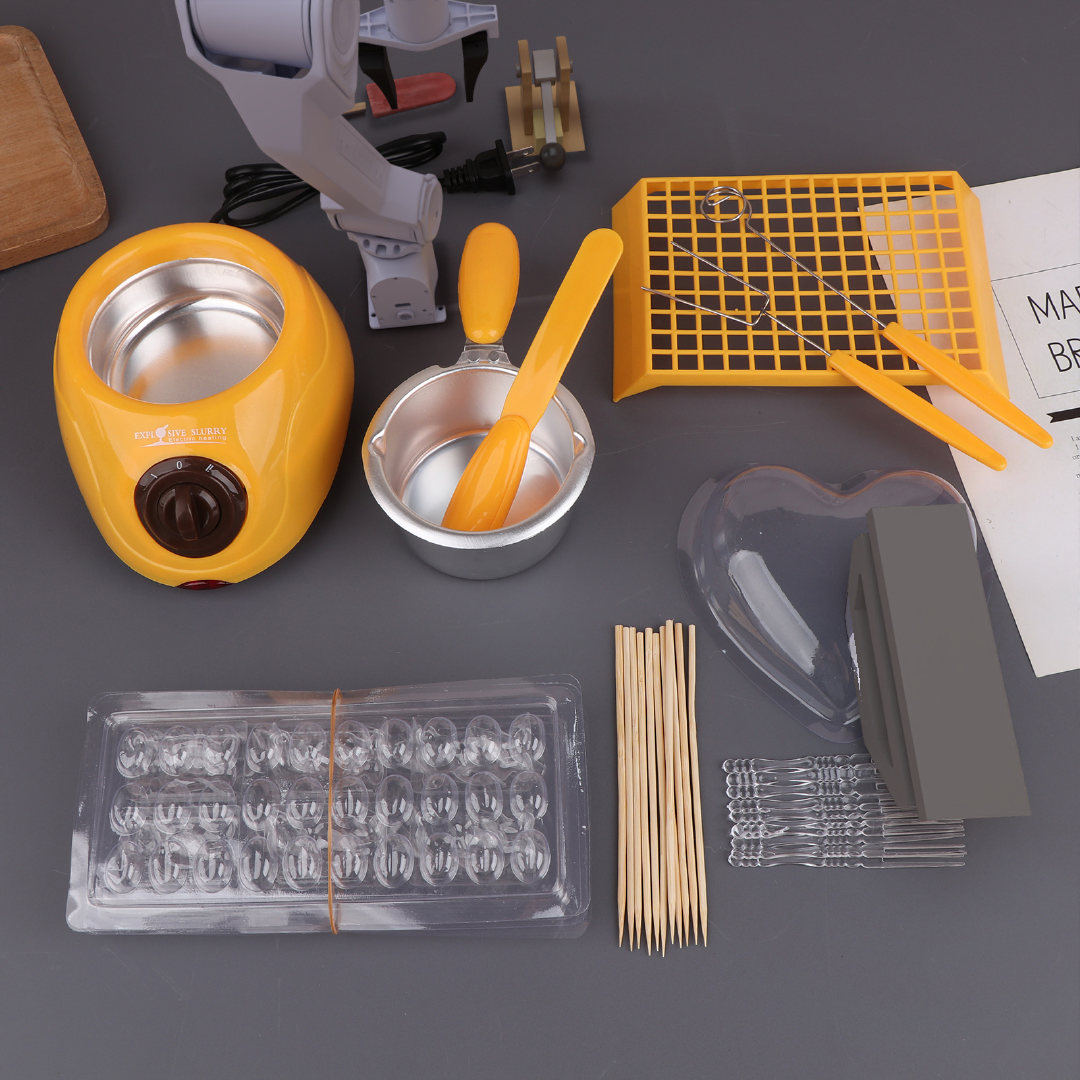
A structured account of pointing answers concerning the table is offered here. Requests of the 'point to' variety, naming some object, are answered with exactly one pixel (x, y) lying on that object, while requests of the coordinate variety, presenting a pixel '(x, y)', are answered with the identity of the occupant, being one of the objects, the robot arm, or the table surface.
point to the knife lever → (548, 110)
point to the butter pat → (540, 132)
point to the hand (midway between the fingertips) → (431, 98)
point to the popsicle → (410, 93)
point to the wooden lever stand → (529, 99)
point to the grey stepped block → (931, 667)
